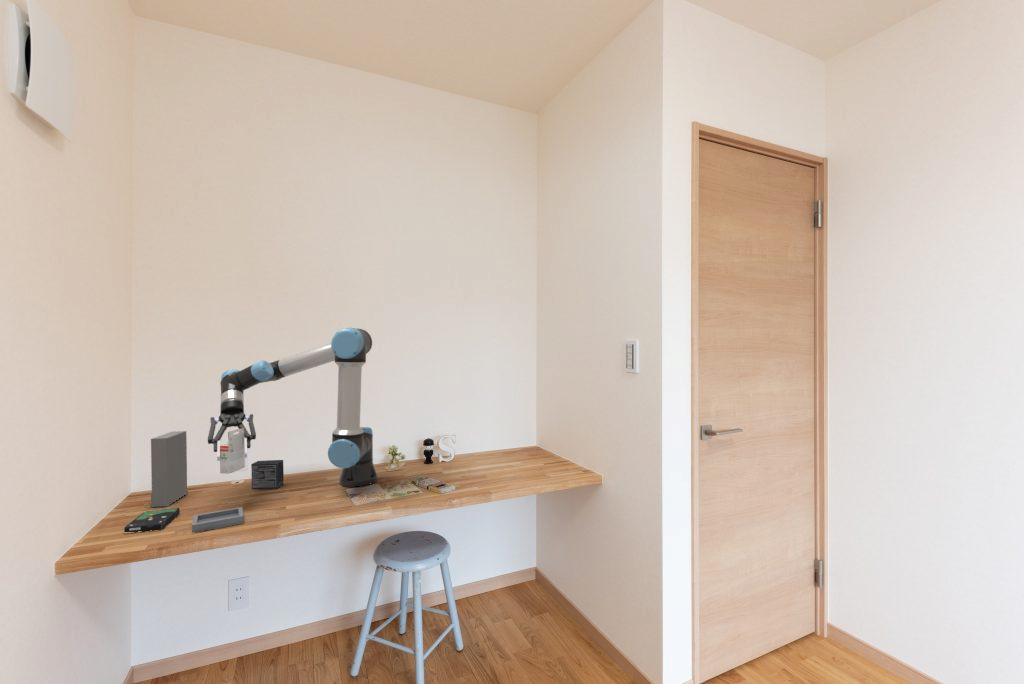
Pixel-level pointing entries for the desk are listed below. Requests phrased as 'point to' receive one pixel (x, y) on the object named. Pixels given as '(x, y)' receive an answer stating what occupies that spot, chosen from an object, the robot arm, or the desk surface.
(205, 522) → the holder
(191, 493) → the desk surface
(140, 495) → the desk surface
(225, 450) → the ink box
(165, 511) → the disk drive
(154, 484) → the dark grey slab
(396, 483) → the desk surface
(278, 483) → the small box
